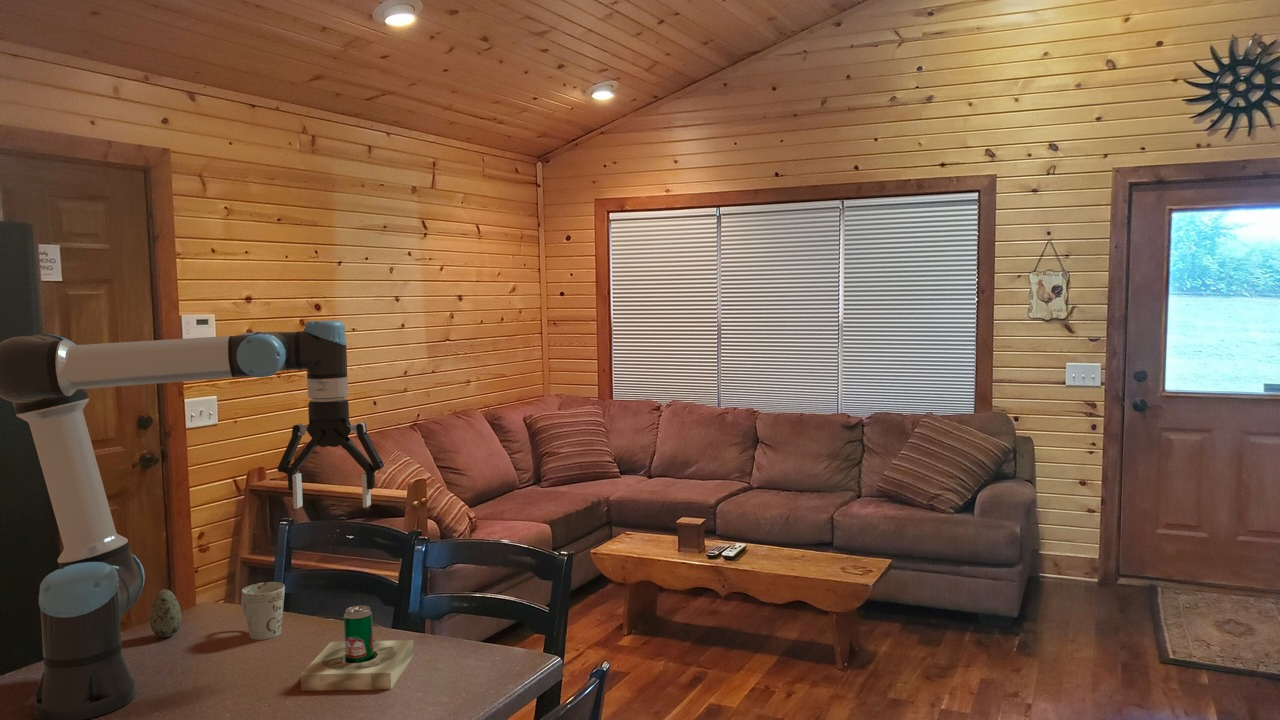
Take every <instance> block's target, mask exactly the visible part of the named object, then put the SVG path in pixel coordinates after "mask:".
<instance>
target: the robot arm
mask: <svg viewBox="0 0 1280 720" xmlns="http://www.w3.org/2000/svg"><path fill="white" fill-rule="evenodd" d="M347 348H348V346H347V337H346V327H345V324H344V323H343V322H342V321H340V320H311V321H310V320H309V321H305V324H304V328H303V330H300V331H263V332H262V331H255V332H254V331H253V332H245V333H241V334H238V335H223V336H222V335H221V336H207V337H193V338H192V337H191V338H190V337H189V338H174V339H171V338H169V339H158V340H157V339H156V340H141V341H124V342H123V341H122V342H121V341H120V342H106V343H92V344H91V343H90V344H76V343H74V342H73V341H71V340H69V339H68V338H65V337H62V336H59V335H56V334H51V333H50V334H49V333H43V334H41V333H40V334H34V335H26V336H25V335H23V336H22V335H21V336H13V337H9V338H8V339H4V340H3V341H1V342H0V398H1V399H3V400H6V401H8V402H12V405H13V409H14V413H15V415H16V417H17V418H20V420H23V421H25V422H27V423H28V425H29V428H30V431H31V435H32V439H33V443H34V446H35V450H36V453H37V456H38V457H37V458H38V460H39V463H40V467H41V470H42V474H43V477H44V481H45V484H46V488H47V492H48V495H49V499H50V503H51V505H52V510H53V514H54V516H55V520H56V523H57V527H58V530H59V534H60V538H61V542H62V544H63V550H62V552H61V553H60V555H59V556H58V558H57V564H58V567H59V568H57V569H56V570H54V571H52V572H50V573H49V574H47V575H46V576H45V577H44V578H43V580H42V581H41V582H40V585H39V593H38V594H39V595H38V606H39V612H40V625H41V644H42V655H43V657H42V658H43V669H42V672H41V677H40V679H39V683H38V686H37V689H36V693H35V695H34V700H33V713H34V714H33V715H34V718H35V719H37V720H88V719H93V718H95V717H100V716H102V715H106V714H108V713H111V712H114V711H116V710H118V709H121V708H122V707H124V706H126V705H128V704H129V703H131V701H132V700H133V699H134V698H135V696H136V682H135V679H134V676H133V675H132V672H131V670H130V668H129V666H128V665H129V664H128V663H127V662H126V661H127V660H126V659H125V657H124V655H123V651H122V632H121V631H122V627H121V618H122V617H123V616H124V615H125V613H127V611H128V610H129V609H131V607H133V606H134V605H135V604H136V602H137V600H138V599H139V597H140V596H141V593H142V590H143V588H144V585H145V578H146V577H145V570H144V566H143V564H142V563H141V561H140V559H138V558H137V556H136V555H135V554H133V553H132V550H131V547H130V543H129V540H128V538H127V537H125V536H123V535H120V534H118V533H117V530H116V527H115V524H114V523H115V522H114V520H113V517H112V513H111V508H110V505H109V501H108V498H107V494H106V491H105V486H104V483H103V479H102V476H101V472H100V469H99V465H98V462H97V458H96V455H95V450H94V447H93V444H92V440H91V437H90V432H89V429H88V426H87V422H86V419H85V414H84V409H85V407H86V405H87V404H88V403H89V401H90V398H89V393H88V389H99V388H113V387H125V386H139V385H141V386H142V385H153V384H166V383H179V382H180V383H181V382H191V381H205V380H206V381H207V380H220V379H230V378H231V379H232V378H235V379H236V378H239V379H240V378H250V377H251V378H252V377H255V378H267V377H271V376H273V375H275V374H277V373H278V372H281V371H283V372H284V371H303V370H305V371H306V379H307V380H306V383H307V384H306V385H307V398H308V399H310V401H309V402H308V403H307V407H308V409H307V412H308V425H307V424H306V425H305V424H304V425H303V423H297V424H295V425H293V426H292V427H291V428H292V429H291V431H292V432H291V437H290V440H289V442H288V444H287V446H286V449H285V451H284V453H283V455H282V457H281V459H280V462H279V464H278V465H277V469H276V470H277V471H278V473H284V474H286V476H287V488H288V491H289V492H292V497H293V509H297V510H298V509H299V508H301V507H303V486H302V485H303V482H302V480H303V479H302V473H299V470H300V468H301V467H302V466H303V464H305V462H306V461H307V460H308V459H309V457H310V456H311V454H313V452H314V451H315V450H316V449H317V448H318V447H320V448H326V447H331V448H337V447H339V446H340V447H341V448H342V449H344V450H345V451H346V452H347V453H348V455H350V457H352V459H353V460H355V462H356V463H357V464H358V465H359V467H360V468H361V469H363V471H364V472H363V473H362V474H361V489H362V508H368V507H370V506H371V505H372V495H371V494H372V493H371V490H373V489H375V486H376V472H377V471H380V470H382V469H383V468H384V467H385V463H384V462H383V459H382V458H381V456H380V454H379V452H378V451H377V449H376V447H375V445H374V443H373V441H372V439H371V438H370V436H369V434H368V431H367V423H366V422H364V421H363V422H362V421H361V422H360V423H354V424H351V423H350V412H349V411H350V409H349V408H350V407H349V406H350V405H349V400H348V399H347V397H348V396H349V385H348V384H349V383H348V360H347V359H348V355H347V353H348V352H347ZM351 432H353V433H354V434H355V435H356V436H357V438H358V441H359V443H360V444H361V445H362V448H363V450H364V451H365V453H366V455H367V457H366V455H365V454H364V453H363V452H362V451H361V450H360V449H359V447H358V446H357V445H355V443H354V441H353V440H352V439H351V438H350V436H349V435H350V433H351ZM306 433H308V435H309V436H310V438H311V439H310V440H309V442H308V443H306V446H305V448H304V449H303V450H302V451H301V452H300V454H299V455H298V456H297V457H296V459H295V460H294V461H293V462H292V460H293V458H294V455H295V454H296V452H297V449H298V446H299V445H300V442H301V440H302V438H303V436H305V435H306ZM368 458H369V459H368ZM291 462H292V464H291ZM290 464H291V465H290Z"/></svg>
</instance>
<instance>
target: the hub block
mask: <svg viewBox="0 0 1280 720" xmlns="http://www.w3.org/2000/svg"><path fill="white" fill-rule="evenodd" d="M373 649H374V659H372V660H370V661H367V662H362V663H346V662H345V640H344V641H330V642H329V643H328V644H327V646H325V647H324V648H323V650H322V651H321V652H320V653H319V654H318V655H317V656H316V657H315V658H314V659H313V661H311V662H310V664H309V665H308V666H306V668H305V669H304V670H303V671H302V672H301V674H300V688H301V691H303V692H306V691H307V692H308V691H311V692H312V691H367V690H369V691H371V690H375V691H377V690H392V689H393V687H394V686H395V684H396V683H397V681H398V679H399V678H400V677H401V676H402V674H403V672H404V671H405V669H406V668H407V666H408V665H409V663H410V661H411V660H412V659H413V657H414V655H415V653H414V640H413V639H407V640H406V639H404V640H399V639H398V640H376V639H373ZM301 691H300V692H301Z"/></svg>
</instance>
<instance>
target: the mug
mask: <svg viewBox="0 0 1280 720" xmlns="http://www.w3.org/2000/svg"><path fill="white" fill-rule="evenodd" d="M285 589H286V585H285V584H284V583H282V582H280V581H279V582H277V581H276V582H275V581H268V582H267V581H266V582H259V583H255V584H251V585H247V586H245V587H243V588H242V590H241V601H240V609H241V611H242V614H243V616H244V617H245V619H246V623H247V629H248V634H249V635H248V636H249V639H252V640H254V639H255V641H263V640H269V639H273V638H276V637H278V636H279V635H281V634H282V633H281V632H282V625H283V615H284V614H283V613H284V601H285V591H286V590H285Z"/></svg>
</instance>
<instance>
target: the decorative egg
mask: <svg viewBox="0 0 1280 720" xmlns="http://www.w3.org/2000/svg"><path fill="white" fill-rule="evenodd" d="M150 608H151V609H150V614H149V626H150V629H151V631H152V632H153V634H154V635H156V636H158V637H160V638H170V637H172V636H174V635H175V634H176V633H177V632H178V631H179V629H180V627H181V624H182V619H183V618H182V617H183V616H182V609H181V607H180V603H179V601H178V599H177V597H176V596H175V594H174V593H173V592H172V591H171V590H169V589H167V588H166V589H161V590H160V591H158V593H157V594H156V596H155V597H154V599H153V602H152V605H151V607H150Z"/></svg>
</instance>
